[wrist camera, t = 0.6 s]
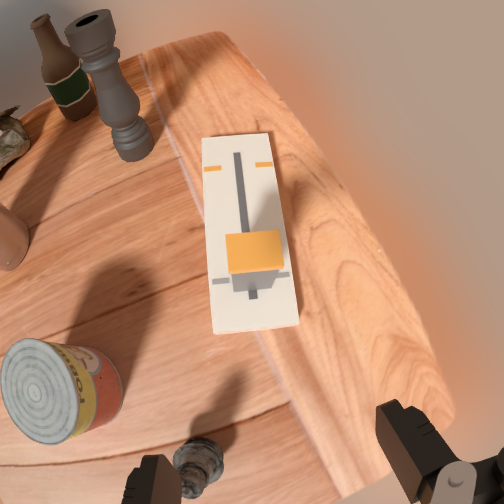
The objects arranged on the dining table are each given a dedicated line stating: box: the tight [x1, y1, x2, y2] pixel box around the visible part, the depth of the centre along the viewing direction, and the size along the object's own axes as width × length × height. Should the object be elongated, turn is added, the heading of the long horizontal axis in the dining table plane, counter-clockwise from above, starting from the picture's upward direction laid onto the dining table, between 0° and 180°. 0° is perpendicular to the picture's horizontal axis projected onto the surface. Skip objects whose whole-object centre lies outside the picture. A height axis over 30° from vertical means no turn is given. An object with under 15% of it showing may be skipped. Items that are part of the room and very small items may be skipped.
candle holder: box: [64, 9, 154, 162], centre depth 33 cm, size 6×6×25 cm
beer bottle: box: [31, 14, 96, 121], centre depth 37 cm, size 8×8×24 cm
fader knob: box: [225, 230, 284, 292], centre depth 31 cm, size 3×5×10 cm
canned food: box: [0, 338, 123, 445], centre depth 27 cm, size 11×11×12 cm
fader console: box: [202, 133, 300, 335], centre depth 40 cm, size 28×10×3 cm, turn 6°
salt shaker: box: [173, 437, 224, 499], centre depth 25 cm, size 6×6×12 cm
